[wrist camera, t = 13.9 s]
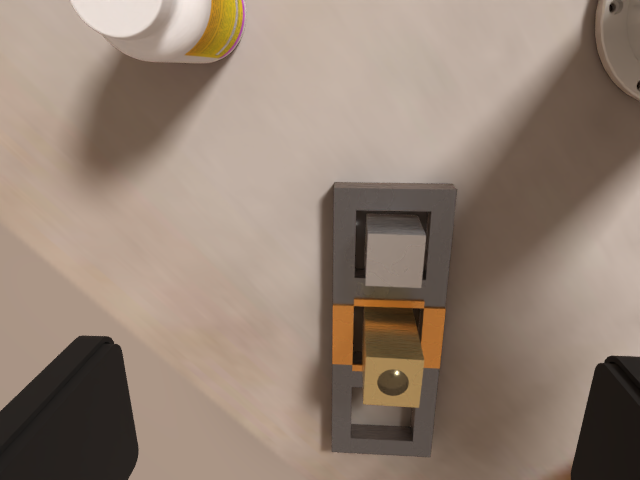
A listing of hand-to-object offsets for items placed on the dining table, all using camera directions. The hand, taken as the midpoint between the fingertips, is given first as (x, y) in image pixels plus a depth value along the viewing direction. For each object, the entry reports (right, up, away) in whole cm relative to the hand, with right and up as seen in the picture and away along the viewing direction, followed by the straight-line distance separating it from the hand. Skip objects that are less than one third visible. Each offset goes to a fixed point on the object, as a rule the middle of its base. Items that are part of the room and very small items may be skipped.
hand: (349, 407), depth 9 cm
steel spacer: (+5, +4, +29) cm, 29 cm away
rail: (+5, -4, +31) cm, 32 cm away
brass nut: (+5, -4, +31) cm, 32 cm away
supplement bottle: (-9, +19, +24) cm, 32 cm away
